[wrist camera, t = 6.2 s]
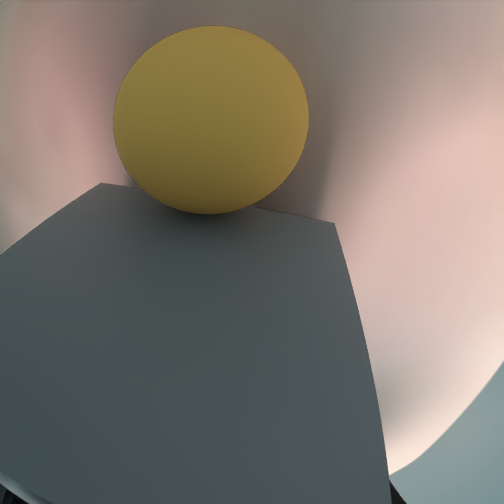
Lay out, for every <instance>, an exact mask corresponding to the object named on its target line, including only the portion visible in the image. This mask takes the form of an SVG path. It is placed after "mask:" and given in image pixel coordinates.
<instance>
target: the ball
mask: <svg viewBox="0 0 504 504" xmlns="http://www.w3.org/2000/svg"><path fill="white" fill-rule="evenodd" d="M308 127H309V111H308V101H307V97H306V93H305V89H304V87H303V84H302V82H301V79H300V77H299V75H298V74H297V72H296V70H295V69H294V67H293V66H292V64H291V63H290V62H289V60H288V59H287V58H286V57H285V56H284V55H283V54H282V53H281V52H280V51H279V50H278V49H277V48H275V47H274V46H273V45H272V44H270V43H269V42H267V41H266V40H264V39H262V38H260V37H259V36H256V35H254V34H252V33H249V32H247V31H244V30H241V29H236V28H232V27H225V26H201V27H195V28H191V29H187V30H183V31H180V32H177V33H175V34H173V35H170V36H168V37H166V38H164V39H162V40H161V41H159V42H158V43H156V44H155V45H153V46H152V47H151V48H149V49H148V50H147V51H146V52H145V53H144V54H143V55H142V56H141V57H140V58H139V59H138V60H137V61H136V62H135V63H134V64H133V66H132V67H131V69H130V70H129V72H128V73H127V75H126V77H125V79H124V81H123V83H122V85H121V87H120V89H119V92H118V95H117V98H116V102H115V108H114V116H113V132H114V138H115V143H116V147H117V150H118V153H119V156H120V158H121V160H122V162H123V164H124V166H125V168H126V170H127V171H128V173H129V174H130V176H131V177H132V178H133V180H134V181H135V182H136V183H137V184H138V185H139V186H140V187H141V188H142V189H143V190H144V191H145V192H147V193H148V194H149V195H150V196H152V197H153V198H155V199H156V200H158V201H160V202H161V203H163V204H165V205H167V206H170V207H172V208H175V209H178V210H181V211H184V212H189V213H195V214H220V213H228V212H232V211H236V210H239V209H242V208H245V207H247V206H250V205H252V204H254V203H256V202H258V201H260V200H261V199H263V198H265V197H266V196H267V195H269V194H270V193H271V192H273V191H274V190H275V189H276V188H277V187H279V186H280V185H281V184H282V183H283V182H284V181H285V179H286V178H287V177H288V175H289V174H290V173H291V172H292V170H293V169H294V167H295V165H296V164H297V162H298V160H299V158H300V156H301V154H302V151H303V149H304V146H305V142H306V138H307V134H308Z"/></svg>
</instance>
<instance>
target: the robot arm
mask: <svg viewBox="0 0 504 504" xmlns="http://www.w3.org/2000/svg"><path fill="white" fill-rule="evenodd" d="M389 483H390V492H391V502H392V504H406V502H405V501H404V500H403V498H402V497H401V496H400V495H399V493H398V492H397V490H396V489H395V487H394V486H393V485H392V483H391V482H390V480H389ZM0 504H29V503H27V502H26V501H24V500H23V499H21V498H20V497H18V496H17V495H15V494H14V493H13V492H11V491H10V490H8V489H7V488H6V487H4V486H3V485H2V484H0Z"/></svg>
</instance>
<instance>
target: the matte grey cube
mask: <svg viewBox="0 0 504 504" xmlns="http://www.w3.org/2000/svg"><path fill="white" fill-rule="evenodd" d="M0 484H2V485H3V486H4V487H6V488H7V489H8V490H10V491H11V492H13V493H14V494H15V495H17V496H18V497H20V498H21V499H23V500H24V501H26V502H27V503H29V504H392V502H391V492H390V483H389V474H388V466H387V458H386V451H385V444H384V437H383V430H382V424H381V418H380V412H379V406H378V400H377V395H376V390H375V384H374V379H373V374H372V369H371V364H370V359H369V355H368V350H367V346H366V341H365V337H364V332H363V328H362V324H361V319H360V315H359V311H358V307H357V303H356V299H355V295H354V291H353V287H352V284H351V280H350V276H349V272H348V269H347V265H346V261H345V258H344V254H343V251H342V247H341V244H340V240H339V237H338V234H337V230H336V227H335V224H334V223H331V222H326V221H321V220H317V219H312V218H307V217H302V216H297V215H292V214H287V213H282V212H276V211H271V210H266V209H260V208H255V207H250V206H247V207H245V208H242V209H239V210H236V211H232V212H228V213H220V214H195V213H189V212H184V211H181V210H178V209H175V208H172V207H170V206H167V205H165V204H163V203H161V202H160V201H158V200H156V199H155V198H153V197H152V196H150V195H149V194H148V193H147V192H145V191H144V190H143V189H141V188H134V187H127V186H119V185H112V184H105V183H100V184H98V185H97V186H95V187H94V188H92V189H90V190H89V191H87V192H86V193H84V194H83V195H81V196H80V197H78V198H77V199H75V200H74V201H72V202H71V203H69V204H68V205H66V206H65V207H64V208H62V209H61V210H59V211H58V212H56V213H55V214H54V215H52V216H51V217H49V218H48V219H47V220H45V221H44V222H43V223H41V224H40V225H38V226H37V227H36V228H34V229H33V230H32V231H31V232H29V233H28V234H27V235H25V236H24V237H23V238H21V239H20V240H19V241H18V242H16V243H15V244H14V245H13V246H11V247H10V248H9V249H8V250H6V251H5V252H4V253H3V254H2V255H0Z"/></svg>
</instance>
